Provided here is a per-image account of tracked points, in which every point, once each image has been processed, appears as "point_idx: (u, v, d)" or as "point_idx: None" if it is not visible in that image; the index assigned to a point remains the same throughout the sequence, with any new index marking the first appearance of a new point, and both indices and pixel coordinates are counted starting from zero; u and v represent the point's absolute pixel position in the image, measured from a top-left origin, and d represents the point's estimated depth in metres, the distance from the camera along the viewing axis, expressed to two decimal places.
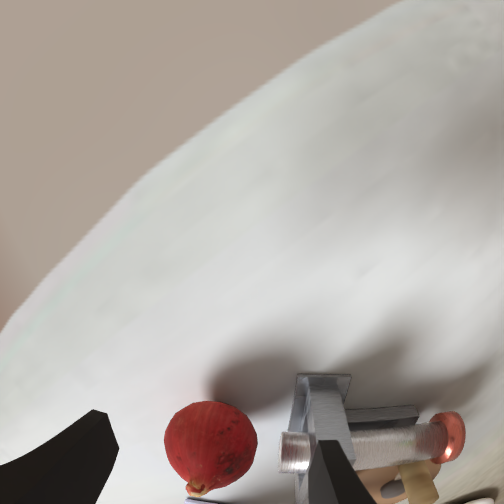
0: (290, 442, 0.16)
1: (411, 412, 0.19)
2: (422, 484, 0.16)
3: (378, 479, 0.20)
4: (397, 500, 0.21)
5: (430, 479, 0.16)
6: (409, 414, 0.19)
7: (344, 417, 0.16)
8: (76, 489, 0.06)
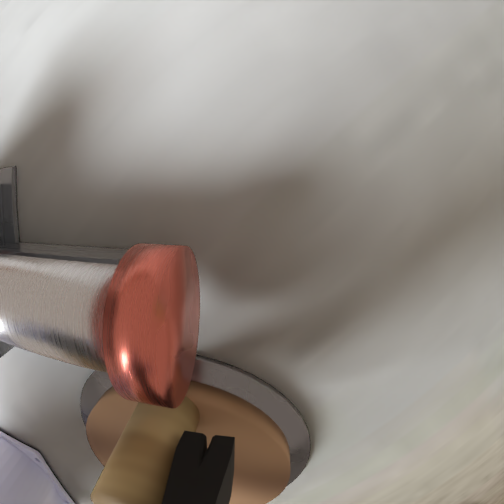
0: None
1: (109, 255, 0.10)
2: (121, 457, 0.07)
3: None
4: None
5: (154, 457, 0.07)
6: (102, 255, 0.10)
7: None
8: None
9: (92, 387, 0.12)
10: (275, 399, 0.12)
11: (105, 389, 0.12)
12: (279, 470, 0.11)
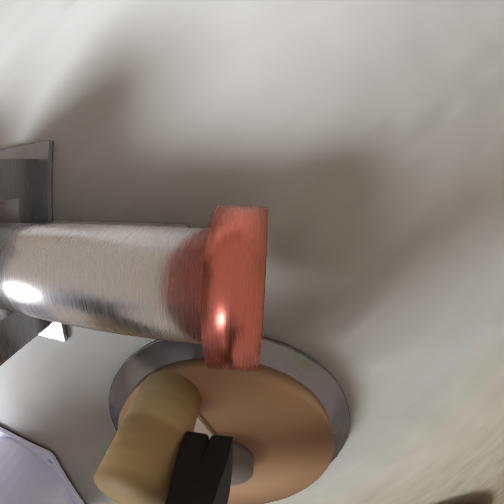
0: None
1: None
2: (113, 440, 0.07)
3: None
4: (296, 486, 0.12)
5: (140, 430, 0.07)
6: None
7: None
8: None
9: (126, 375, 0.12)
10: (321, 375, 0.12)
11: (141, 376, 0.12)
12: (312, 422, 0.11)
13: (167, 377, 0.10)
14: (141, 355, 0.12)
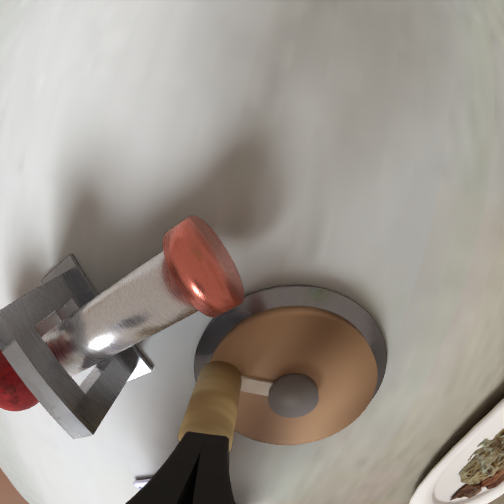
0: None
1: None
2: None
3: (253, 413, 0.17)
4: (368, 373, 0.16)
5: (190, 403, 0.13)
6: None
7: (36, 288, 0.14)
8: None
9: (200, 369, 0.18)
10: (320, 293, 0.16)
11: None
12: (305, 324, 0.15)
13: (203, 368, 0.16)
14: (200, 347, 0.17)
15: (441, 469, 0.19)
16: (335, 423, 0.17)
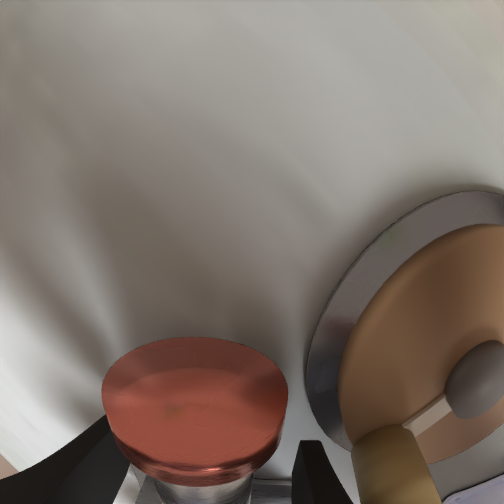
0: None
1: None
2: None
3: (455, 430, 0.09)
4: None
5: None
6: None
7: None
8: (92, 495, 0.06)
9: None
10: (385, 244, 0.08)
11: None
12: (410, 306, 0.07)
13: (352, 461, 0.09)
14: (331, 433, 0.10)
15: None
16: None
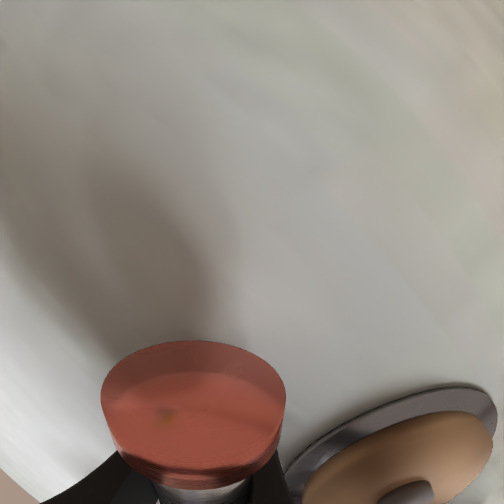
0: None
1: None
2: None
3: None
4: (462, 437, 0.09)
5: None
6: None
7: None
8: None
9: None
10: (338, 436, 0.10)
11: None
12: (347, 478, 0.09)
13: None
14: None
15: None
16: (474, 467, 0.09)
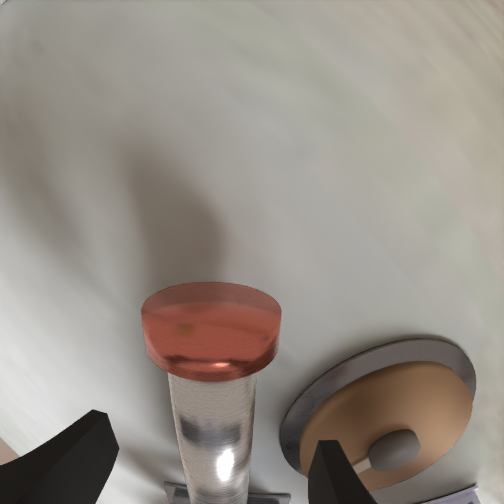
0: None
1: None
2: None
3: (383, 473, 0.13)
4: (440, 384, 0.12)
5: None
6: None
7: None
8: (76, 489, 0.06)
9: None
10: (328, 379, 0.13)
11: None
12: (338, 418, 0.12)
13: None
14: (298, 469, 0.15)
15: None
16: (457, 423, 0.12)
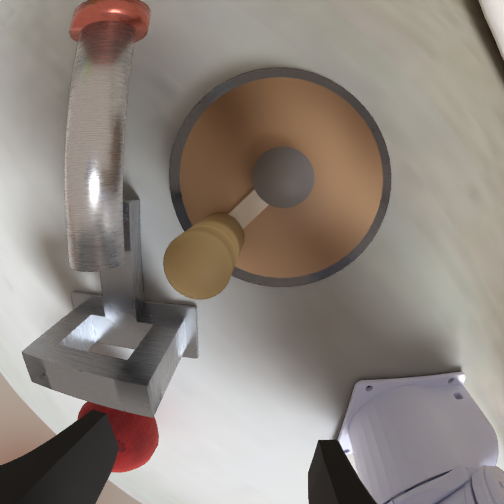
0: None
1: None
2: None
3: (288, 236, 0.15)
4: (311, 92, 0.13)
5: None
6: None
7: None
8: (76, 489, 0.06)
9: None
10: (205, 100, 0.15)
11: None
12: (208, 120, 0.14)
13: None
14: None
15: None
16: (365, 163, 0.14)
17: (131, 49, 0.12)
